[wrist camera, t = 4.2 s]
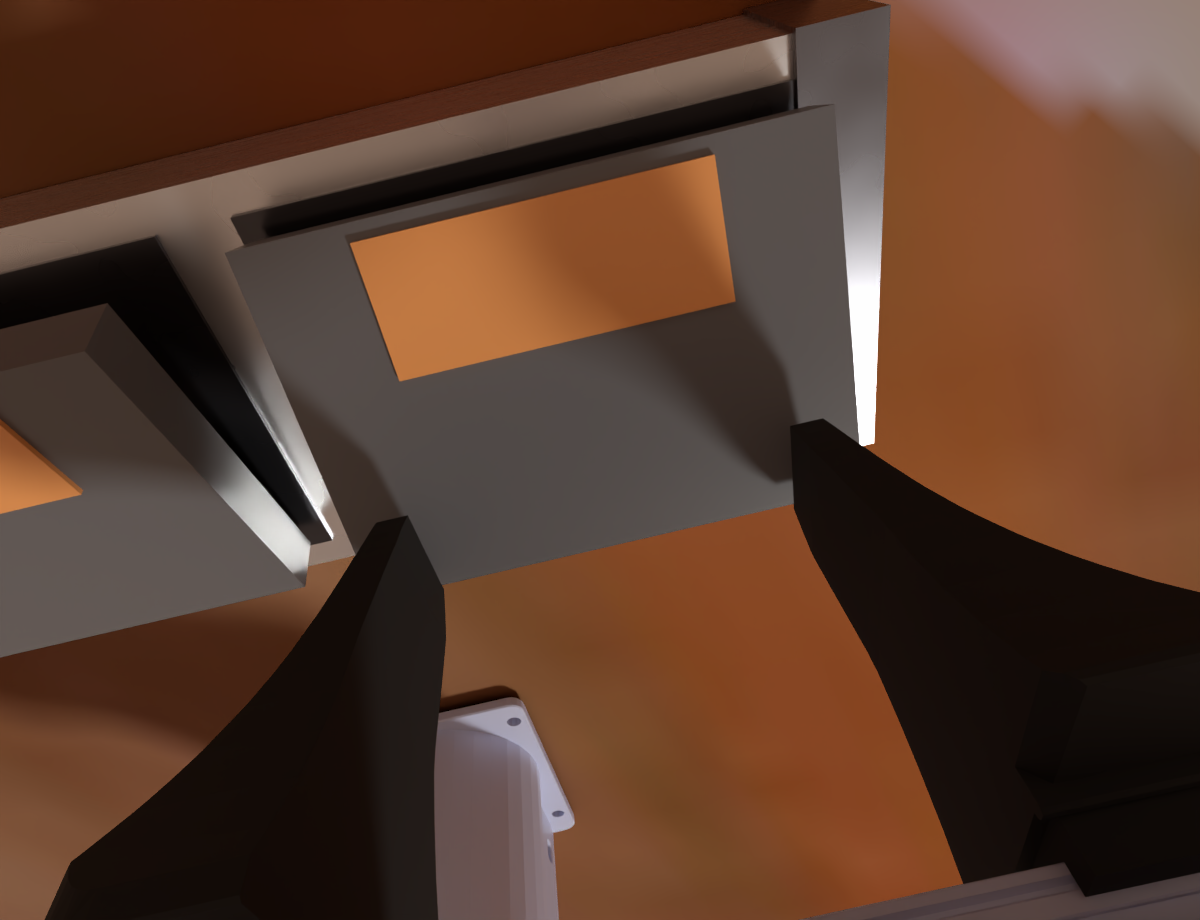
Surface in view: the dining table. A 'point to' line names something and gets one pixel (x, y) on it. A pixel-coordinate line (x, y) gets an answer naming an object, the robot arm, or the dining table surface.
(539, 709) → the dining table surface
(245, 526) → the rocker
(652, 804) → the dining table surface
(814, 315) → the grey rectangular frame
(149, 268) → the grey switch panel
